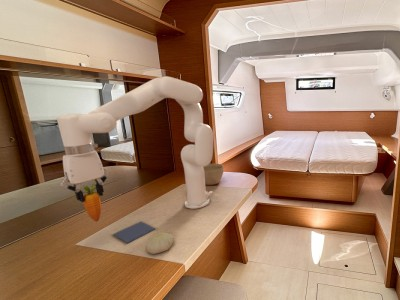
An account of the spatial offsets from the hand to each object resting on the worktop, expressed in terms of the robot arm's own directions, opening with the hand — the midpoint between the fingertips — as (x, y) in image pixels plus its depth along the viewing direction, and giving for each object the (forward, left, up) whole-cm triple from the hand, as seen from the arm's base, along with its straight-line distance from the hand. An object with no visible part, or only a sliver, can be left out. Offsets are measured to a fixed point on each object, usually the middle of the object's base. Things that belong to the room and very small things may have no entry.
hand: (91, 197), depth 79 cm
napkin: (-11, +4, -19) cm, 22 cm away
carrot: (0, 0, -10) cm, 10 cm away
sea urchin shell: (-10, +23, -19) cm, 31 cm away
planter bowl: (-68, -10, -19) cm, 71 cm away
